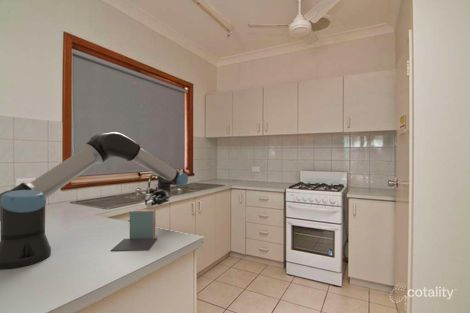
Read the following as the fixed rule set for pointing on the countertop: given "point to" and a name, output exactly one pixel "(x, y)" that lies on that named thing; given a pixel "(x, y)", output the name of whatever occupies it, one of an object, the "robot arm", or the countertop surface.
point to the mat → (134, 244)
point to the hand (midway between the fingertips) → (148, 205)
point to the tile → (142, 223)
